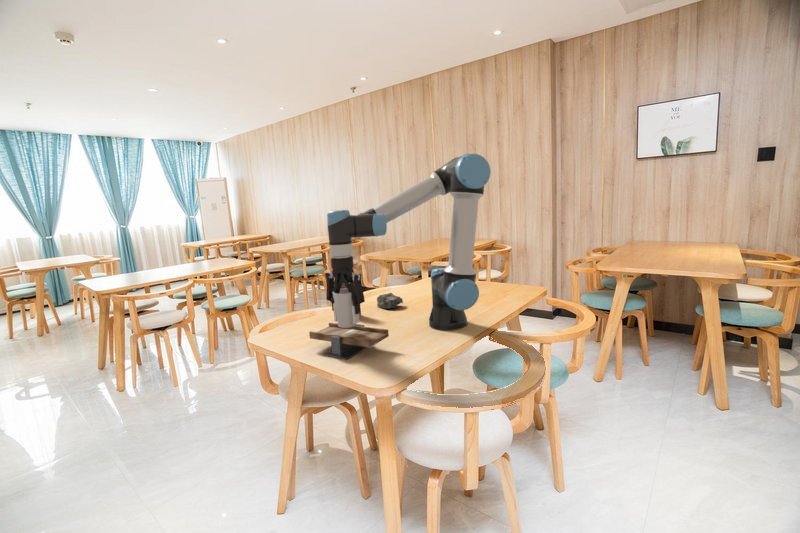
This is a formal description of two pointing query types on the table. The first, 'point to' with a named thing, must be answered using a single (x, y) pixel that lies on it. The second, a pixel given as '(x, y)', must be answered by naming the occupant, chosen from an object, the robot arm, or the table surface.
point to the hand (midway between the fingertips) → (347, 321)
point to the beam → (351, 335)
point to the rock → (388, 301)
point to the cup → (343, 308)
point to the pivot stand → (343, 348)
